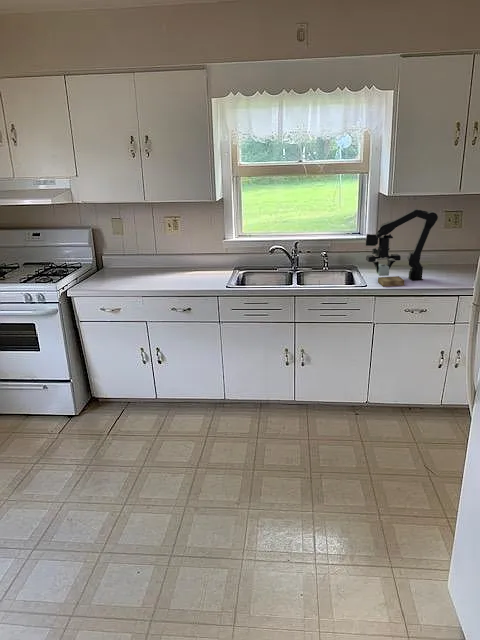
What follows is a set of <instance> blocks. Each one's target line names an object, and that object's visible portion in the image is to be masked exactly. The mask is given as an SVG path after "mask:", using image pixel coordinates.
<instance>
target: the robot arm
mask: <svg viewBox="0 0 480 640" xmlns="http://www.w3.org/2000/svg"><path fill="white" fill-rule="evenodd" d="M415 218H420V219H422V220H424V221H423V225H422V229H421V231H420V235H419V237H418V239H417V241H416V244H415V247H414V249H413V250H412V251H409V252H408V256H407V258H406V259H407V263H408V266H409V267H410V268H409V271H408V279H409V280H410V281H412V282H413V281H414V282H415V281H417V282H418V281H424V279H423V272H424V271H423V268H424V267H423V265H422V263H421V261H420V260H421V255H422V251H423V248H424V246H425V245H426V242H427V239H428V236H429V234H430V232H431V229H432V228H433V227H434V226H435V224H436V222H437V221H438V219H439V216H438V214H437V212H435V211H433V210H429V211H426V210H421V209H418V208H414V209H412V210H411V211H408V213H405V214H403V215H401V216H400V217H397V218H395V219H394V220H391V221H387V222H383V223H382V224H380V225H379V229H378V230H377V231H376V233H375V234H373V233H372V234H371V233H366V237H365V247H375V248H372V250H371V253H372V254H371V255H370V254H369V255H366V257H365V260H366V261H367V263H373V264H374V267H375V272H376V271H377V273H378V267H379V264H380V263H379V260H387V261H386V262H387V263H386V265H388V266H389V270H390V269H391V268H392V265H393V264H394V263H395V262H397V261H401V255H400V254H398V253H390V252H389V251H390V249H391V248H390V239H394V237H393V235H392V232H393V231H394V230H395V229H396V228H397V227H400V226H401V225H403V224H406V223H407V222H409V221H411V220H413V219H415ZM377 245H378V247H377V248H376V246H377ZM389 253H390V254H389ZM377 273H376V274H377Z"/></svg>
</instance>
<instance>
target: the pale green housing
mask: <svg viewBox="0 0 480 640" xmlns="http://www.w3.org/2000/svg"><path fill="white" fill-rule="evenodd" d="M375 273H376V274H377V275H378V277H390V269H389V266H388V265H387V263H379V267H378V273H377V271H376V270H375Z"/></svg>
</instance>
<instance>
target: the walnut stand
mask: <svg viewBox="0 0 480 640" xmlns="http://www.w3.org/2000/svg"><path fill="white" fill-rule="evenodd" d="M405 282H406V281H405V279H403V278H402V277H400V276H399V275H396V276H378V277H377V284H379V285H381V287H383V288H384V287H400V286H405V284H406V283H405Z"/></svg>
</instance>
